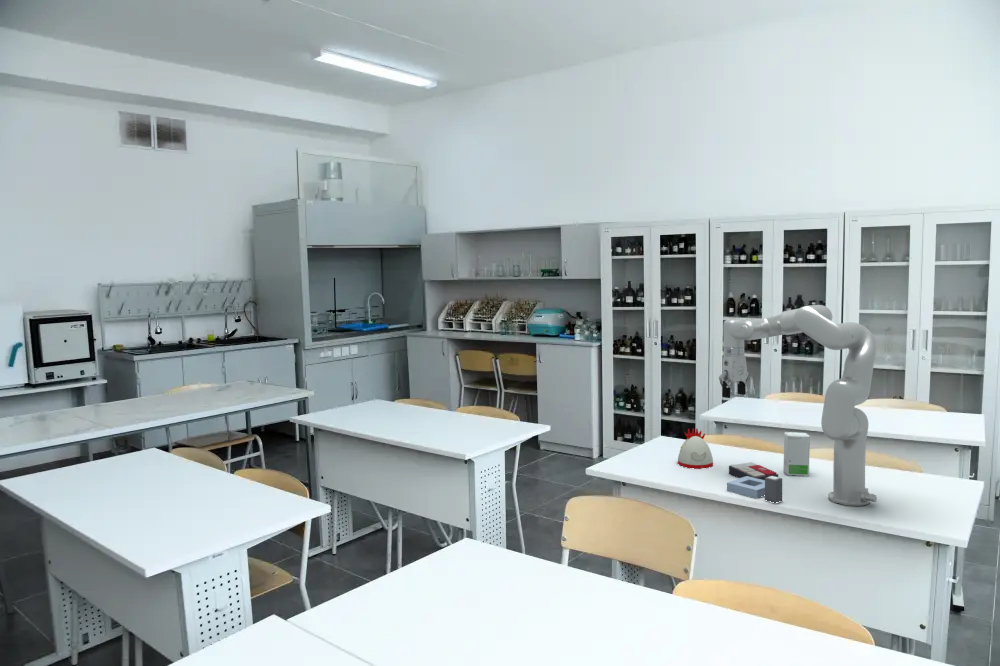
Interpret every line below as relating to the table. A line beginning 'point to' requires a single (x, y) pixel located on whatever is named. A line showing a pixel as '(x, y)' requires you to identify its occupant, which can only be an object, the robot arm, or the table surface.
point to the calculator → (751, 471)
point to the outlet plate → (747, 486)
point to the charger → (773, 489)
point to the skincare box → (796, 453)
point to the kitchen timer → (695, 452)
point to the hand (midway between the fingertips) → (734, 395)
